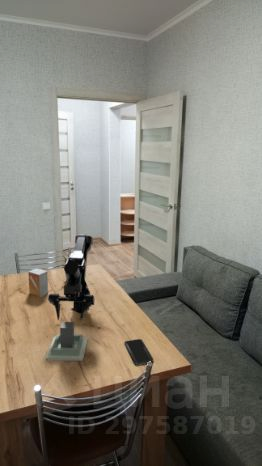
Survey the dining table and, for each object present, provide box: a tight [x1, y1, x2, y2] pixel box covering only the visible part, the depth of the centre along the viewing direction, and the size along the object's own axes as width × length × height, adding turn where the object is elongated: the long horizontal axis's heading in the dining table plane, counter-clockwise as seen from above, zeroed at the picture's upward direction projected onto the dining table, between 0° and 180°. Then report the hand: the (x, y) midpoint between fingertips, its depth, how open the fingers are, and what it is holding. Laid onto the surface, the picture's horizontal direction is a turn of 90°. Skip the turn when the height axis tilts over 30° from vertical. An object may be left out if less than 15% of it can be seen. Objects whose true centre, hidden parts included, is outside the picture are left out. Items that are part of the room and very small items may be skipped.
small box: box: [27, 267, 49, 298], centre depth 177 cm, size 8×6×13 cm
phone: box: [123, 338, 154, 366], centre depth 131 cm, size 8×1×15 cm
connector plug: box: [59, 321, 75, 348], centre depth 130 cm, size 5×5×10 cm
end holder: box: [45, 333, 88, 362], centre depth 131 cm, size 14×14×4 cm
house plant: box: [59, 255, 70, 282], centre depth 196 cm, size 14×14×16 cm
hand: (69, 319), depth 133 cm, fingers open, 9 cm apart
